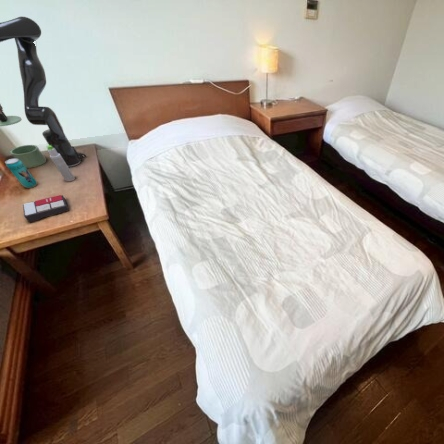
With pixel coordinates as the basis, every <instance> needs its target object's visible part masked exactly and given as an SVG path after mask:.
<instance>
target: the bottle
mask: <svg viewBox="0 0 444 444" xmlns="http://www.w3.org/2000/svg"><path fill="white" fill-rule="evenodd" d="M46 148H47V149H46V150H47V152H48V154H49V158H50V159H51V162H53V164H54V165H55V167H56V168H57V170H58V172H59V173H60V175H61V176H62V177H63V179H64V181H65V182H72V181H74V180H75V178H76V177H75V176H74V174H73V173H72V171H71V169H70V167H68V166H67V164H66V163H65V161H64V160H63V158H62V157H61V155H60V154H59V153H57V151H56V150H55V148H53V147H52V146H51V145H49V144H48V145H47V146H46Z"/></svg>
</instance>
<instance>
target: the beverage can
mask: <svg viewBox="0 0 444 444" xmlns="http://www.w3.org/2000/svg"><path fill="white" fill-rule="evenodd" d="M4 163H5V166H6V167H7V168H8V170H9V171H10V172H11V174H13V176H14V177H15V178H16V180H17V181H18V182H19V183H20V184H21V185H22V186H23V187H25V188H27V189H31V188H35V187H36V186H37V185H38V184H37V183H38V182H37V180H36V179H35V178H34V176H33V175H32V174H31V172H30V171H29V169H28V168H26V167H25V166H24V164H23V163H22V162H21V161H20V160H19V159H17V158H14V157H13V158H9V159H7V160H5V161H4Z"/></svg>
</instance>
